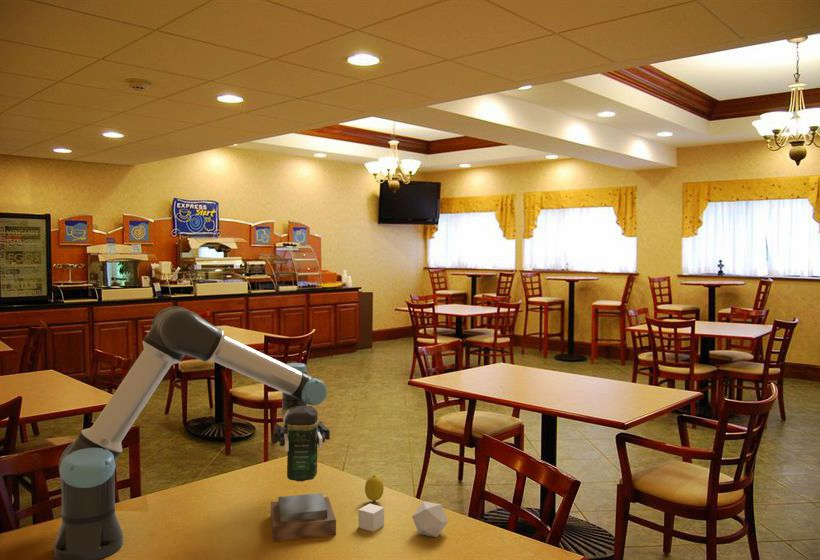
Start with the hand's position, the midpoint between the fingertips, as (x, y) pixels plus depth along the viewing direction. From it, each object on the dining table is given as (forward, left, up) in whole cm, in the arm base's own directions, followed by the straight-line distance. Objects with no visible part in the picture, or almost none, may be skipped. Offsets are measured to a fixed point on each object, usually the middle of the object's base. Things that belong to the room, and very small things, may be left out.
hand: (304, 444), depth 162 cm
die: (+32, -8, -24) cm, 41 cm away
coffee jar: (0, +5, -10) cm, 11 cm away
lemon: (+22, +16, -24) cm, 36 cm away
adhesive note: (+18, 0, -24) cm, 30 cm away
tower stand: (0, +5, -23) cm, 24 cm away
